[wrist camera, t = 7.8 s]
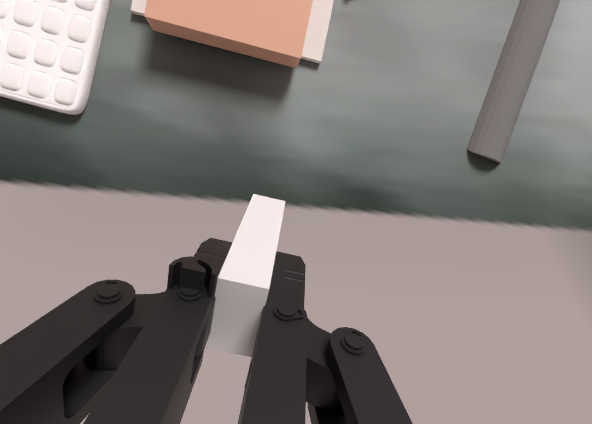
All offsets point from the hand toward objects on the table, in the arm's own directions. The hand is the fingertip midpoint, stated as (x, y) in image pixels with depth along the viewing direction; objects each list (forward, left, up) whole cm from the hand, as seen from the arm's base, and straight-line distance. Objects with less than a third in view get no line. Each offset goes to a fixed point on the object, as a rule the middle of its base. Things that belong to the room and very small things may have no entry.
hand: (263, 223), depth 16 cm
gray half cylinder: (-22, -18, -16) cm, 33 cm away
